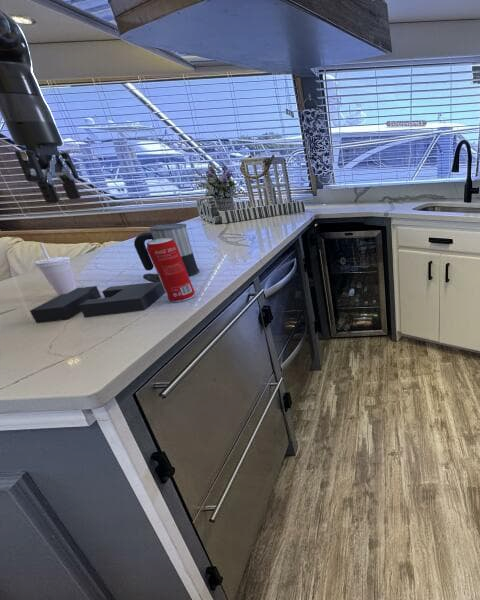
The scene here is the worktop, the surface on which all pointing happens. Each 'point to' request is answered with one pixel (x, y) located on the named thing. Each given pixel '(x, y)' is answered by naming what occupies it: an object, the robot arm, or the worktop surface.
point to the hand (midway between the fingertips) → (64, 200)
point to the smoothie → (57, 273)
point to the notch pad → (123, 299)
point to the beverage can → (170, 269)
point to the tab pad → (64, 305)
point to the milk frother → (178, 236)
